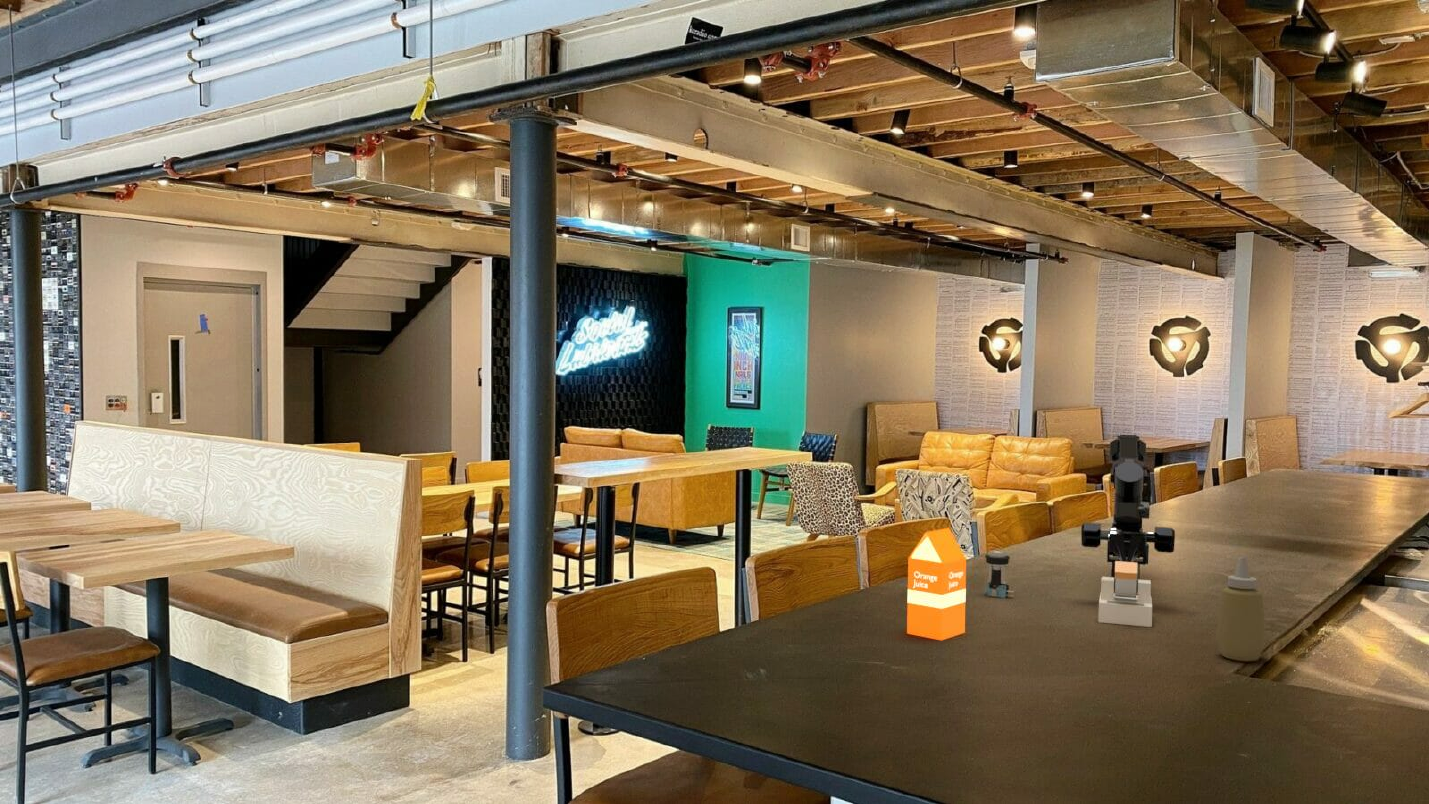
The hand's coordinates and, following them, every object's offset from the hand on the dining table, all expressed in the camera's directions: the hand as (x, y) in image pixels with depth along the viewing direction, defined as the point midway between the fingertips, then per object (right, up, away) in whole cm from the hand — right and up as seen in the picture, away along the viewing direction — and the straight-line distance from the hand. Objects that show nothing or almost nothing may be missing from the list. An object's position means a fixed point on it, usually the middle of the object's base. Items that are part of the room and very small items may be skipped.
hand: (1126, 569), depth 223 cm
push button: (-23, -9, +15) cm, 29 cm away
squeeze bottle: (+7, -10, -35) cm, 37 cm away
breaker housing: (-3, -9, -6) cm, 11 cm away
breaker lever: (-2, -4, -6) cm, 7 cm away
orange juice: (-44, -9, -19) cm, 49 cm away
